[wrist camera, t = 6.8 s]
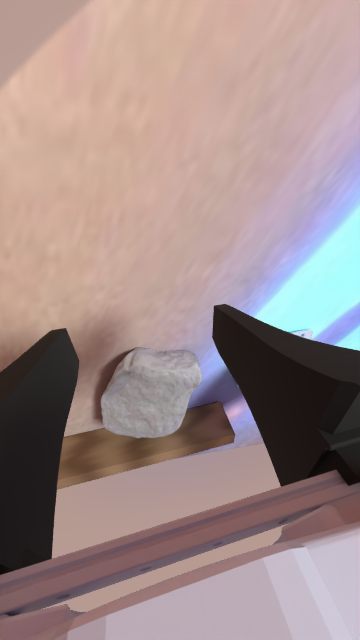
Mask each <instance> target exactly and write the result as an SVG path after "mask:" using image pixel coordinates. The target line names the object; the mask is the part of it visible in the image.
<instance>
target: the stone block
mask: <svg viewBox="0 0 360 640" xmlns="http://www.w3.org/2000/svg"><path fill="white" fill-rule="evenodd" d="M201 379H202V372H201V370H200V366H199V361H198V358H197V357H196V356H195V355H194V354H193V353H191V352H189V351H179V350H175V351H165V352H162V351H156V350H153V349H150V348H142V347H138V348H135V349H134V350H133V351H131V352H130V353H129V354H127V355H126V356H125V357H124V359H123V360H122V361H121V362H120V363H119V364H118V365H117V368H116V370H115V372H114V374H113V376H112V378H111V380H110V382H109V383H108V385H107V388H106V390H105V391H104V393H103V395H102V397H101V400H100V401H101V408H102V412H101V413H102V416H103V422H102V423H103V425H104V427H105V428H106V429H107V430H109V431H111V432H113V433H115V434H119V435H126V436H132V437H136V438H141V437H144V438H146V437H148V438H157V437H164V436H167V435H170V434H172V433H174V432H175V431H176V430H177V429H178V428H179V427H180V425H181V423H182V421H183V418H184V416H185V413H186V410H187V406H188V402H189V399H190V396H191V395H192V393H193V391H194V389H195V388H196V387H198V386H199V384H200V382H201Z"/></svg>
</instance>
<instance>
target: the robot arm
mask: <svg viewBox="0 0 360 640" xmlns="http://www.w3.org/2000/svg"><path fill="white" fill-rule="evenodd" d="M312 334H313V331H312V330H310V329H307V330H302V331H296V332H291V333H289V332H286V331H283V330H281V329H278V328H276V327H273V326H271V325H269V324H266V323H264V322H262V321H260V320H258V319H255V318H253V317H251V316H249V315H247V314H245V313H243V312H241V311H239V310H237V309H235V308H233V307H231V306H229V305H226V304H222V305H216V306H214V315H213V335H212V338H213V340H214V343H215V345H216V348H217V350H218V352H219V354H220V356H221V358H222V359H223V361H224V363H225V364H226V366H227V368H228V369H229V371H230V373H231V374H232V376H233V378H234V379H235V381H236V385H237V387H239V388H240V390H241V392H242V393H243V395H244V397H245V400H246V402H247V404H248V406H249V408H250V410H251V413H252V415H253V417H254V420H255V422H256V424H257V426H258V429H259V431H260V433H261V436H262V438H263V441H264V443H265V446H266V448H267V450H268V453H269V456H270V458H271V461H272V464H273V466H274V469H275V472H276V474H277V477H278V479H279V482H280V485H281V487H279V488H276V489H273V490H270V491H267V492H264V493H260V494H257V495H254V496H251V497H247V498H244V499H241V500H238V501H235V502H232V503H228V504H225V505H222V506H219V507H216V508H213V509H209V510H206V511H203V512H200V513H197V514H193V515H190V516H187V517H184V518H181V519H177V520H174V521H171V522H168V523H165V524H162V525H158V526H155V527H152V528H149V529H146V530H142V531H139V532H136V533H133V534H130V535H127V536H123V537H120V538H117V539H114V540H111V541H108V542H104V543H101V544H98V545H95V546H92V547H88V548H85V549H82V550H79V551H76V552H73V553H70V554H66V555H63V556H60V557H57V558H53V559H52V543H53V528H54V514H55V503H56V492H57V482H58V474H59V465H60V457H61V450H62V444H63V437H64V432H65V427H66V423H67V419H68V415H69V411H70V407H71V403H72V399H73V395H74V391H75V387H76V383H77V378H78V369H79V359H78V357H77V354H76V352H75V349H74V347H73V345H72V342H71V340H70V337H69V335H68V332H67V330H66V328H64V329H57V330H52V331H50V332H49V333H47V334H46V335H45V336H44V337H42V338H41V339H40V340H39V341H38V342H37V343H35V344H34V345H33V346H32V347H31V348H30V349H28V350H27V351H26V352H25V353H24V354H23V355H21V356H20V357H19V358H18V359H17V360H15V361H14V362H13V363H12V364H10V365H9V366H8V367H7V368H5V369H4V370H3V371H2V372H0V640H360V351H358V350H353V349H348V348H343V347H338V346H334V345H329V344H325V343H321V342H318V341H316V340H314V339H313V338H312ZM288 523H289V524H288ZM285 524H288V525H286V526H284V527H282V532H281V533H282V535H281V536H280V538H279V539H278V540H277V541H276V542H275V543H274V544H273V545H271V546H268V547H264V548H260V549H257V550H254V551H250V552H247V553H243V554H240V555H237V556H234V557H231V558H228V559H225V560H222V561H219V562H216V563H213V564H209V565H207V566H203V567H201V568H198V569H195V570H192V571H189V572H187V573H184V574H181V575H178V576H176V577H173V578H170V579H167V580H165V581H162V582H160V583H157V584H155V585H152V586H149V587H147V588H144V589H141V590H139V591H136V592H134V593H131V594H129V595H126V596H124V597H121V598H119V599H117V600H114V601H112V602H109V603H107V604H105V605H102V606H100V607H97V608H95V609H93V610H91V611H88V612H77V611H73V610H70V608H69V607H68V605H67V604H64V605H60V606H56V607H51V608H47V609H43V608H46V607H49V606H51V605H54V604H57V603H60V602H63V601H66V600H69V599H72V598H75V597H77V596H80V595H83V594H86V593H89V592H92V591H94V590H98V589H101V588H103V587H106V586H109V585H112V584H115V583H118V582H120V581H124V580H126V579H129V578H132V577H135V576H138V575H141V574H144V573H147V572H150V571H152V570H155V569H158V568H161V567H164V566H167V565H170V564H172V563H175V562H178V561H181V560H184V559H187V558H190V557H193V556H196V555H198V554H201V553H204V552H207V551H210V550H213V549H216V548H218V547H222V546H224V545H227V544H230V543H233V542H236V541H239V540H242V539H244V538H247V537H250V536H253V535H256V534H259V533H262V532H264V531H268V530H270V529H273V528H276V527H279V526H282V525H285ZM40 609H42V610H40ZM37 610H38V611H37Z"/></svg>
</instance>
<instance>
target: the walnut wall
mask: <svg viewBox="0 0 360 640" xmlns="http://www.w3.org/2000/svg"><path fill="white" fill-rule="evenodd" d="M234 437H235V433H234V431H233V429H232V426H231V424H230V422H229V420H228V418H227V415H226V413H225V411H224V409H223V406H222V404H221V402H216V403H212V404H207V405H203V406H199V407H194V408H190V409H187V410H186V413H185V416H184V418H183V421H182V423H181V425H180V427H179V428H178V429H177V430H176V431H175V432H174V433H172V434H170V435H167V436H164V437H157V438H148V437H146V438H144V437H141V438H136V437H132V436H126V435H119V434H115V433H113V432H111V431H109V430H107V429H106V428H103V429H98V430H94V431H90V432H85V433H81V434H77V435H72V436H68V437H64V438H63V444H62V450H61V457H60V465H59V474H58V482H57V489H61V488H65V487H69V486H72V485H76V484H80V483H83V482H87V481H91V480H95V479H99V478H102V477H106V476H110V475H114V474H117V473H121V472H125V471H128V470H132V469H136V468H140V467H143V466H148V465H151V464H155V463H159V462H163V461H166V460H170V459H174V458H178V457H181V456H185V455H189V454H193V453H196V452H200V451H204V450H208V449H211V448H215V447H219V446H223V445H227V444H230V443H234Z"/></svg>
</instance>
